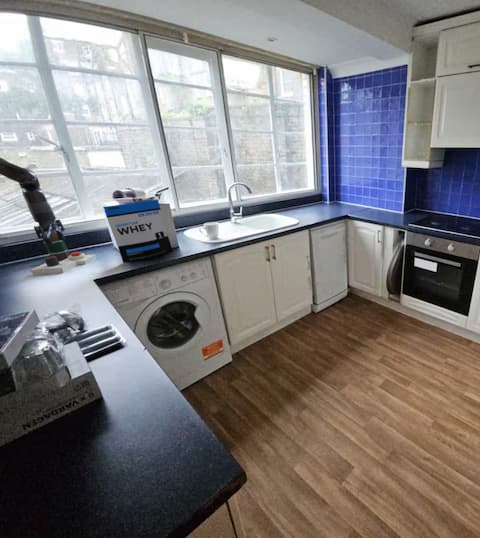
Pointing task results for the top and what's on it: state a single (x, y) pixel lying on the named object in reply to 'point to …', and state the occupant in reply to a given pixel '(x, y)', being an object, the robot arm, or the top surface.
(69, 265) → the control panel
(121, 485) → the top surface
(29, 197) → the robot arm
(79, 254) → the power button
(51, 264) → the dial
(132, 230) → the protein powder
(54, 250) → the beer bottle
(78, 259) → the switch block
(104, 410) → the top surface
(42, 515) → the top surface
